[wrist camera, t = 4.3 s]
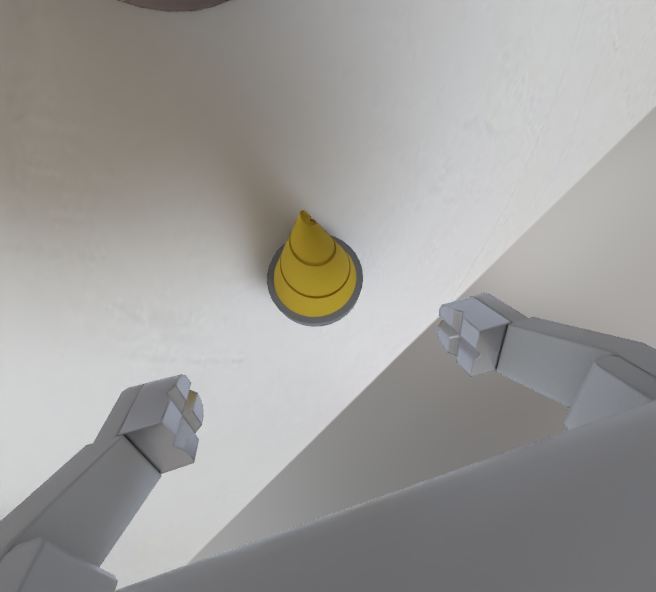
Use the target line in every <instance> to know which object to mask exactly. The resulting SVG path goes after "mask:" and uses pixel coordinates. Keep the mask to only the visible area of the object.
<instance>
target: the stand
mask: <svg viewBox="0 0 656 592" xmlns="http://www.w3.org/2000/svg"><path fill="white" fill-rule="evenodd" d="M119 1H123V2H126V3H130V4H133V5H136V6H140V7H143V8H150V9H157V10H164V11H193V10H198V9H203V8H208V7H212V6H216V5H219V4H221V3H223V2H226V1H228V0H119Z"/></svg>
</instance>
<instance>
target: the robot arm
mask: <svg viewBox="0 0 656 592" xmlns="http://www.w3.org/2000/svg"><path fill="white" fill-rule="evenodd" d="M439 316H440V317H441V318H442V319H443V320H442V321H441V323H440V324H439V325H438V337H439V341H440V343H441V344H442V346H443V348H444V349H445V350H446V351H447V352H448V353H450V354H452V355H455V356H457V363H458V364H459V365H460V366H461V367H462V368H463V369H464V371H465V372H467V374H468V375H469V376H470V377H474V376H477V375H481V374H484V373H488V372H491V371H495V370H496V372H498V373H500V374H502V375H504V376H506V377H508V378H510V379H512V380H514V381H516V382H518V383H520V384H522V385H524V386H526V387H528V388H530V389H532V390H534V391H536V392H538V393H541V394H543V395H545V396H547V397H549V398H551V399H553V400H555V401H557V402H559V403H561V404H563V405H565V406H567V407H569V408H570V409H569V411H568V413H567V414H566V416H565V418H564V425H565V426H566V427H567V428H569V430H568V431H565V432H562V433H559V434H556V435H553V436H551V437H548V438H545V439H542V440H540V441H536V442H534V443H531V444H528V445H525V446H522V447H520V448H516V449H514V450H511V451H508V452H506V453H502V454H499V455H497V456H494V457H491V458H488V459H486V460H483V461H480V462H477V463H474V464H472V465H468V466H466V467H463V468H460V469H457V470H454V471H451V472H449V473H446V474H443V475H440V476H437V477H434V478H432V479H429V480H426V481H423V482H420V483H417V484H415V485H412V486H409V487H406V488H403V489H401V490H398V491H395V492H392V493H389V494H387V495H383V496H381V497H378V498H375V499H372V500H369V501H366V502H364V503H361V504H358V505H355V506H353V507H350V508H347V509H344V510H341V511H338V512H335V513H333V514H330V515H327V516H324V517H322V518H318V519H316V520H313V521H310V522H307V523H304V524H301V525H299V526H296V527H293V528H290V529H287V530H285V531H282V532H279V533H276V534H273V535H270V536H268V537H265V538H262V539H259V540H256V541H254V542H251V543H248V544H245V545H242V546H239V547H237V548H234V549H231V550H228V551H226V552H222V553H220V554H217V555H214V556H211V557H208V558H205V559H203V560H200V561H197V562H194V563H191V564H188V565H186V566H183V567H180V568H177V569H174V570H171V571H169V572H166V573H163V574H160V575H157V576H155V577H152V578H149V579H146V580H143V581H140V582H138V583H135V584H132V585H129V586H126V587H123V588H121V589H118V590H115V588H116V585H117V582H118V581H117V579H116V577H115V575H113V574H111V573H109V572H107V571H105V570H103V569H101V568H99V567H100V565H101V564H102V562H103V561H104V559H105V558H106V557H107V555H108V554H109V552H110V551H111V549H112V548H113V546H114V545H115V543H116V542H117V540H118V539H119V537H120V536H121V535H122V533H123V532H124V530H125V529H126V527H127V526H128V524H129V523H130V521H131V520H132V518H133V517H134V515H135V514H136V513H137V511H138V510H139V508H140V507H141V505H142V504H143V502H144V501H145V499H146V498H147V496H148V495H149V493H150V492H151V491H152V489H153V488H154V486H155V485H156V483H157V482H158V480H159V479H160V477H161V474H162V473H165V472H168V471H171V470H174V469H177V468H180V467H183V466H186V465H189V464H192V463H194V460H195V456H196V451H197V446H198V441H199V439H198V437H197V436H196V434H195V433H196V432H197V430H198V429H199V428H200V427H201V425H202V421H203V416H204V415H203V404H202V401H201V398H200V397H199V395H198V393H196V392H194V391H191V390H189V389H190V385H191V382H190V380H189V379H188V378H187V376H186V375H182V374H181V375H177V376H173V377H169V378H165V379H161V380H157V381H153V382H149V383H146V384H142V385H138V386H134V387H130V388H127V389H126V390H124V391H123V392H122V393H121V395H120V397H119V398H118V400H117V402H116V404H115V405H114V407H113V409H112V411H111V412H110V414H109V416H108V418H107V420H106V421H105V423H104V425H103V427H102V428H101V430H100V432H99V434H98V435H97V437H96V439H95V441H94V443H92V444H89V445H86V446H85V447H84V448H83V449H82V450H80V451H79V452H78V453H77V454H76V455H75V456H74V457H73V458H71V459H70V460H69V461H68V462H67V463H66V464H65V465H63V466H62V467H61V468H60V469H59V470H58V471H57V472H56V473H54V474H53V475H52V476H51V477H50V478H49V479H48V480H47V481H45V482H44V483H43V484H42V485H41V486H40V487H39V488H38V489H36V490H35V491H34V492H33V493H32V494H31V495H30V496H28V497H27V498H26V499H25V500H24V501H23V502H22V503H21V504H19V505H18V506H17V507H16V508H15V509H14V510H13V511H12V512H10V513H9V514H8V515H7V516H6V517H5V518H4V519H3V520H1V521H0V592H656V349H654V348H652V347H650V346H648V345H646V344H644V343H641V342H637V341H633V340H629V339H625V338H620V337H616V336H612V335H608V334H603V333H599V332H595V331H591V330H586V329H582V328H578V327H573V326H569V325H565V324H561V323H557V322H552V321H548V320H544V319H540V318H535V317H531V318H527V317H526V316H524V315H523V314H521V313H520V312H518V311H516V310H515V309H513V308H512V307H510V306H508V305H506V304H505V303H504V302H502V301H500V300H498V299H497V298H495V297H494V296H492V295H491V294H488V293H481V294H478V295H474V296H471V297H469V298H465V299H461V300H458V301H454V302H450V303H447V304H443V305H441V307H440V309H439Z"/></svg>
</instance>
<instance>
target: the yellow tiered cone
mask: <svg viewBox="0 0 656 592" xmlns="http://www.w3.org/2000/svg"><path fill="white" fill-rule="evenodd" d="M310 218H311V216H310V215H309V214H308V213H307V212H305V211H304V210H302V211H301V212H300V214H299V216H298V218H297V220H296V222H295V225H294V227H293V229H292V231H291V233H290V236H289V238H288V240H287V242H286V244H284V245H283V246H282V247H281V248H280V249H279V250H278V251H277V253H276V254H275V255H274V257H273V259H272V261H271V263H270V265H269V269H268V274H267V284H268V289H269V293H270V295H271V298H272V300H273V302H274V303H275V304H276V306H277V307H278V308H279V310H280V311H281V312H282V313H283V314H284V315H285V316H287V317H288V318H289V319H291V320H293V321H294V322H296V323H299V324H302V325H306V326H324V325H328V324H332V323H334V322H336V321H338V320H340V319H341V318H343V317H344V316H345V315H347V314H348V313H349V312H350V310H351V309H352V308H353V307H354V305H355V303H356V302H357V300H358V297H359V294H360V291H361V288H362V282H363V274H362V267H361V264H360V261H359V259H358V257H357V255H356V254H355V252H354V251H353V250H352V249H351V248H350V247H349V246H348V245H347V244H346V243H344V242H343V241H342V240H340V239H338V238H336V237H333V236H330V235H329V234H328V233H327V232H326V231H325V230H324V229H323V228H322V227H321V226H320V225H319V224H318V223H317V222H316V221H315V220H313V219H310Z"/></svg>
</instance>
